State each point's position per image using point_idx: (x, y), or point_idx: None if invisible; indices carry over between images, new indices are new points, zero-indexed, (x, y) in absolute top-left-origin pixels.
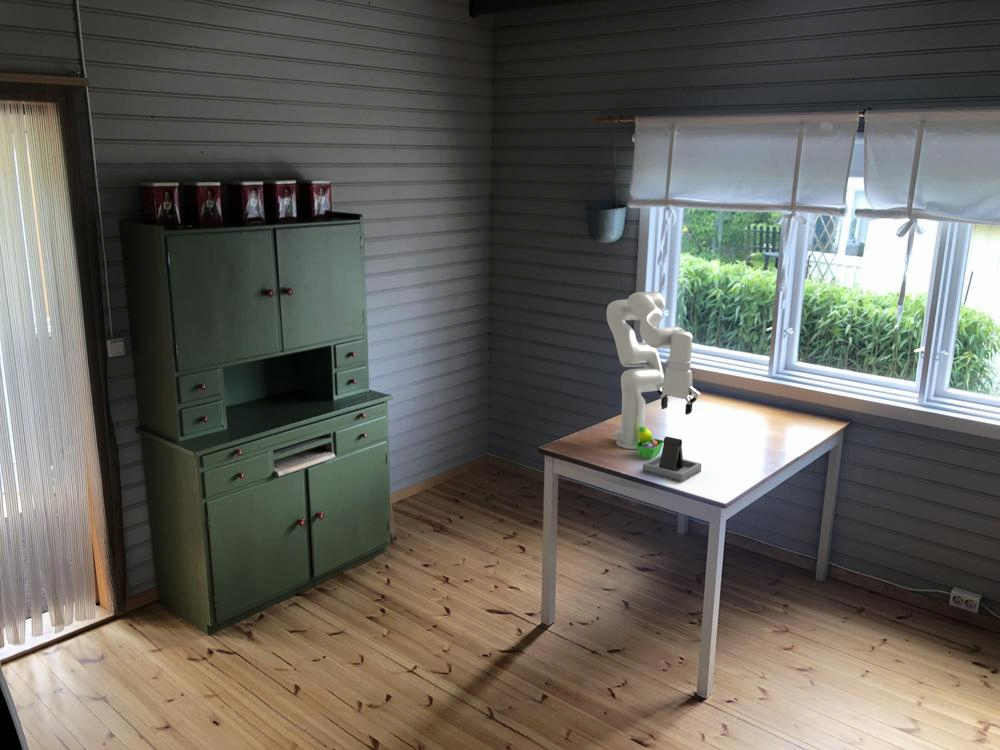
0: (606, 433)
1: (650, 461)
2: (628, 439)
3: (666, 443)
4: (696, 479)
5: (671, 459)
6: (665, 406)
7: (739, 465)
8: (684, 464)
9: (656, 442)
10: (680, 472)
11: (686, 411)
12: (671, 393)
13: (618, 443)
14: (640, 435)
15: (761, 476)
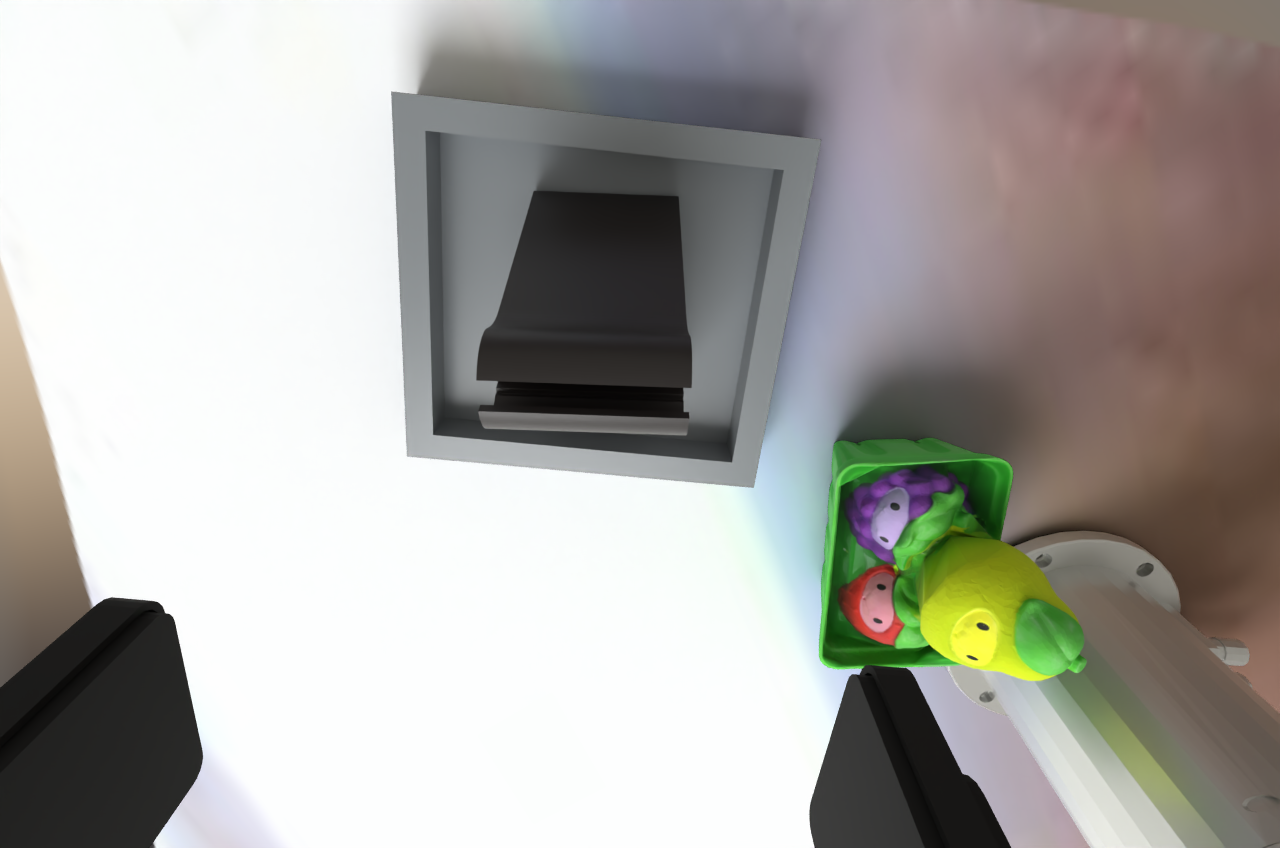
0: None
1: (782, 251)
2: (1102, 594)
3: (649, 331)
4: (364, 251)
5: (565, 249)
6: (839, 788)
7: (295, 659)
8: (549, 431)
9: (867, 618)
10: (504, 268)
11: (50, 654)
12: None
13: (1153, 558)
14: (1025, 565)
15: (83, 569)
